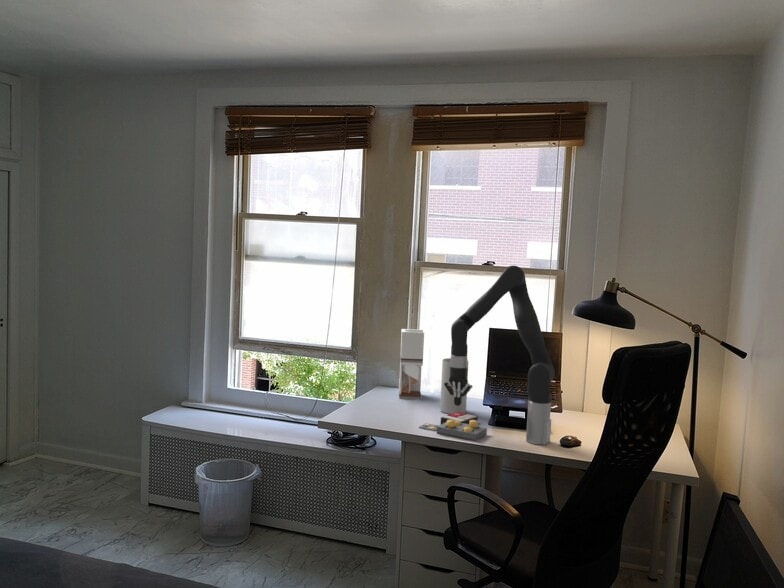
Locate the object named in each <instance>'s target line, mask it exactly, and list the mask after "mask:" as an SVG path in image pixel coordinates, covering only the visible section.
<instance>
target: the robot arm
mask: <svg viewBox="0 0 784 588" xmlns="http://www.w3.org/2000/svg"><path fill="white" fill-rule="evenodd" d="M508 293H509V296H510V298H511V301H512V308H513V315H514V321H515V324H516V328H517V331H518V334H519V337H520V339H521V341H522V343H523V344H524V346H525V347H526V349H527V350H528V352H529V355H530V358H531V363H532V366H530V368H529V370H528V373H527V396H528V401H527V417H526V420H527V421H526V435H525V437H526V438H525V441H526V442H528V443H529V444H532V445H533V444H534V445H543V446H546V445H548V444H550V443H551V433H552V419H551V411H552V410H551V409H552V395H551V393H550V386H551V385H550V383H551V382H552V381H553V380H554V378H555V374H556V372H555V368H554V365H553V363H552V360H551V357H550V356H549V353H548V350H547V349H546V344H545V339H544V337H543V332H542V329H541V326H540V322H539V319H538V316H537V313H536V309H535V308H534V306H533V303H532V301H531V298H530V295H529V291H528V286H527V280H526V275H525V272H524V270H523V269H522V268H521V267H519V266H517V265H509V266H507V267H506V268H505V269H504V270H503V272H502V273H501V275H500V276H499V277H498V278H497V280H496V281H495V282H494V284H493V285H491V287H490V288H488V289H487V291H485V292H484V293H483V294H482V295H481V296H480V297H479V298H478V299H477V300H476V301H474V302H473V303H472V304H471V305H470V306H469V307H468V308H467V309H466V311H465V312H464V313H463V314H461V315H460V316H459V317H458V318H457V319H456V320H454V322H453V323H452V325H451V328H450V335H451V339H450V340H451V347H450V358H451V359H450V378H449V381H448V382H446V383H444V385H445V387H446V388H447V390H448V392H449V393H450V395H453V396H454V404H455V405H456V406H459V405H460V404H461V400H462V397H463V396H465V395H466V394H467V395H468V393H469V392H470V390H471V389H473V385H472V384H471V383H469V380H467V368H468V369H469V362H468V361H469V360H468V332H469V331H470V329H471V328H473V326H474V325H476V323H478V322H480V321H481V320H482V319H483V318H484V317H485V316H486V315H487V314H488V313H489V312H490V311H492V309H493V307H495V305H496V304H498V302H499V301H500V300H501V299H502V298H503V297H504V296H505V295H506V294H508ZM451 385H452V387H453V389H452V387H451ZM465 386H466V389H465V391H464V392H463V388H464V387H465ZM462 392H463V393H462Z"/></svg>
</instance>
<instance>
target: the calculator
mask: <svg viewBox="0 0 784 588" xmlns="http://www.w3.org/2000/svg"><path fill="white" fill-rule="evenodd" d="M447 420H456V421H460V422H461V423H465V424H469V421H470V420H476V421H478V422H479V418H478V417H477V416H476V415H474V414H467V413H466V412H465V413H460V412H456V413H453V414H447V415H444V416H441V417H440V424H439V425H441V424H443V423H445V422H447Z"/></svg>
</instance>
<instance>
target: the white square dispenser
mask: <svg viewBox="0 0 784 588" xmlns="http://www.w3.org/2000/svg"><path fill="white" fill-rule="evenodd" d="M400 331H401V334H400V336H401V337H400V357H399V359H400V360H399V362H400V363H399V378H398V379H399V380H398V381H399V382H398V399H399V400H400V399H401V400H419V401H421V400H422V393H421V388H422V387H421V385H422V367H423V365H424V344H425V332H424V329H415V328H414V329H412V328H401V330H400Z"/></svg>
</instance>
